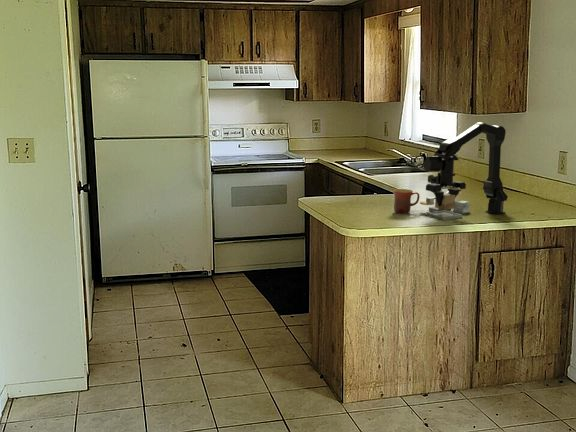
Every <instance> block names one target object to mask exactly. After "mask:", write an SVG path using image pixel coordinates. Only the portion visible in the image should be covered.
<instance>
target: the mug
mask: <svg viewBox="0 0 576 432" xmlns="http://www.w3.org/2000/svg"><path fill="white" fill-rule="evenodd" d="M392 191H393V197H394V199H393V200H394V201H393V211H394V213H395V214H398V215H407V214H409V213H411V207H413V206H415V205H417V204H418V203H419V202H420V197H421V196H420V193H419V192H417V191H413V190H412V189H407V188H395V189H393V190H392ZM414 195H416V201H415V202H413V203H412V202H411V201H412V196H414Z"/></svg>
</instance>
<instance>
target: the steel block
mask: <svg viewBox="0 0 576 432" xmlns="http://www.w3.org/2000/svg"><path fill="white" fill-rule="evenodd" d="M452 212H454V213H458V214H462V215H464V214H467V213H470V201H468V200H461V199H459V200H455V208H454V209H453V211H452Z"/></svg>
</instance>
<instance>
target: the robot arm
mask: <svg viewBox="0 0 576 432" xmlns="http://www.w3.org/2000/svg"><path fill="white" fill-rule="evenodd" d="M506 133H507V132H506V128H505V127H504V126H501V125H495V124H487V123H485V122H479V121H478V122H476V123H475V124H474V125H472V126H470V127H469V128H467V129H466V130H465V131H463V132H461V133H460V134H457V136H456V137H453V138H448V139H447V140H444V141H441V143H440V144H439V147H438V148H437V150H436V152H435V153H434V154H433V155H427V156H426V158H425V160H424V162H423V169H424V171H425V172H427V173H429V172H438V173H437V175H435V176H434V174H430V175H428V176H427V184H426V185H425V191H428V192H431V193H433V194H434V197H436V200H437V203H438V206H441V204H442V199H443V195H444V193H445V191H443V190H444V189H445V190H447V191H449V194H453V195H455V199H456V198H457V197H458V195H459V194H458V193H459V192H461V191H462V190H465V189H466V188H467V187H466V186H467V184H466V183H465V181H460V180H454V177H455V176H456V173H455V172H454V170H455V169H454V168H455V161H459V160H460V159H459V158H458V157H457V156H456V154H457V153H458V152H460V150H461V148H462V147H463V146H464V145H465V144H468V142H470V141H471V140H473V139H475V138H476V137H478V136H479V135H480V134H485V135H486V137H485V138H486V141H487V143H488V145H489V148H488V149H489V150H488V151H489V152H488V174H487V175H488V177H487V178H486V179H485V180H483V183H482V184H483V185H482V186H483V187H482V190H483V192H484V194H485V197H486V198H487V199H488V203H487V205H488V206H487V210H485V213H489V214H493V215H501V214H506V211H504V206H505V205H504V202H507V201H508V199H509V198H508V195H507V193H506V192H505V191H504V185H503V184H504V183H503V182H502V179H501V153H502V148H501V147H502V144H504V141H505V139H506Z"/></svg>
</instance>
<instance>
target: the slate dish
mask: <svg viewBox="0 0 576 432" xmlns="http://www.w3.org/2000/svg"><path fill="white" fill-rule="evenodd" d="M425 214H426V217H430V218H433V219H436V220H437V219H438V220H441V221H448V220H455V219H463V214H461V213H456V212H453V211H446V210H443V211H435V212H432V211H429V212H427V211H426V213H425Z"/></svg>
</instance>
